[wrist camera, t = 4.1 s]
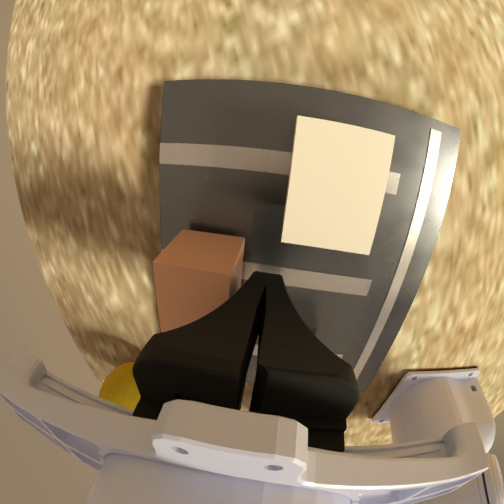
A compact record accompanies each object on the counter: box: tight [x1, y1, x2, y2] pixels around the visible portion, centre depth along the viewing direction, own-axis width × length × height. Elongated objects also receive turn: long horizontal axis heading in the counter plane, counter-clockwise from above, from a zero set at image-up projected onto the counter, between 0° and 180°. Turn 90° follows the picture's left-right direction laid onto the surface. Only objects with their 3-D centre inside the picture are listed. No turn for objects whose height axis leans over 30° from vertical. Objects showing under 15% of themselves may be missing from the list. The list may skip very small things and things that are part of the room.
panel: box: [159, 80, 461, 392], centre depth 15 cm, size 14×18×2 cm
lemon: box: [99, 362, 141, 411], centre depth 19 cm, size 6×6×8 cm
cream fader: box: [281, 116, 395, 255], centre depth 9 cm, size 3×4×3 cm
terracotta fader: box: [153, 229, 245, 333], centre depth 12 cm, size 3×4×3 cm
